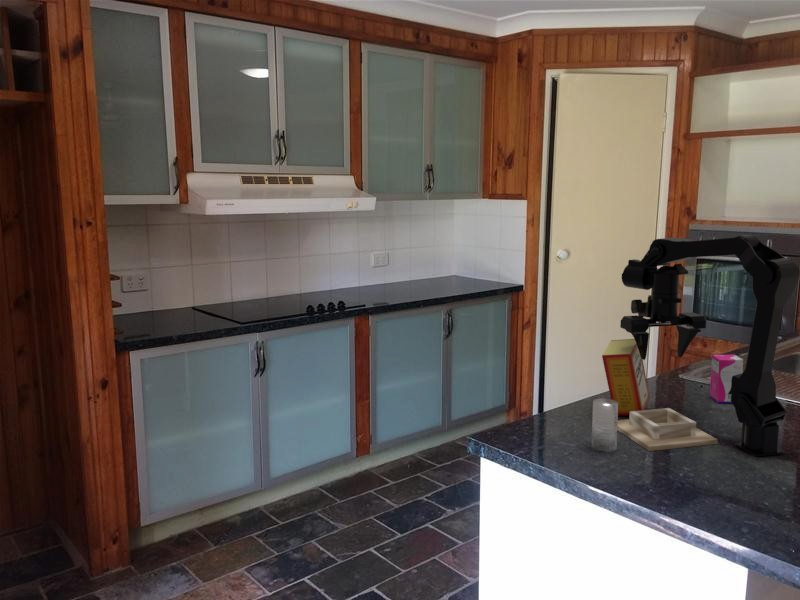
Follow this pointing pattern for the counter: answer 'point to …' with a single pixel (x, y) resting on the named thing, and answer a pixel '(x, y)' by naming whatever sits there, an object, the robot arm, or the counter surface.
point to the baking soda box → (626, 376)
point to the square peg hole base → (663, 430)
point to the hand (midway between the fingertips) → (661, 358)
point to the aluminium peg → (604, 425)
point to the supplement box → (723, 376)
